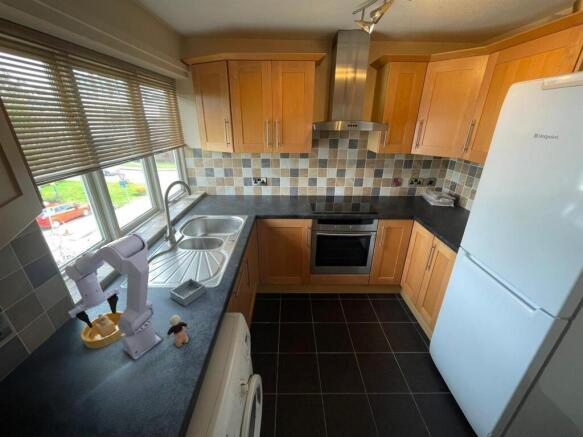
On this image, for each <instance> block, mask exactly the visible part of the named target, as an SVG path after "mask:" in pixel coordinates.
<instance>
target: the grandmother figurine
mask: <svg viewBox="0 0 583 437" xmlns="http://www.w3.org/2000/svg"><path fill="white" fill-rule="evenodd" d="M169 324H170V326H171V327H170V328H168V331H167V332H166V333H167V334H166V339H170V337H171V335H172V334H173V337H174V341H175V346H176V347H177V348H180V347H182V346H183V344H187V343H188V342H189V336H187V333H186V331H185V328H186V329H187V330H189V329H190V325H189V324H188V323H186V322H183V321H181V317H180V315H178V314H175V315H172V316H171V317H170V319H169Z"/></svg>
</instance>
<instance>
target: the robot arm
mask: <svg viewBox="0 0 583 437" xmlns="http://www.w3.org/2000/svg"><path fill="white" fill-rule="evenodd" d="M148 249H149V245H148V243H147V241H146V240H145V239H144V238H143V237H142V236H141V235H140V234H138V233H137V232H136V233H135V232H131V233H129V235H125V236H123V237H120V238H118V239H115V240H113V241H111V242H108V243H107V244H105V245H103V246H102V247H100V248H99V249H98V250H97V251H90V252H89V251H85V252H84V253H82V254H81V256H80V257H78V258H76V260H75V261H74V262H73V263H71V264H68V265H66V266H65V267H64V272H65V274H66V276H67V277H68V278H69V279H71V280H72V281H74V283H75V286H76V288H77V290H78V293H79V295H80V297H81V300H82V302H81V303H80V304H78V305H76V307H74V308H72V309H71V310H69V311H68V314H69V316H70V318H71V319H75V318H77V319H78V320H79V321H82V322H84V323H85V324H86V325H88V326H89V327H90V328H92V327H93V326H92V324H91V319H90V318H89V314H87V312H86V311H88V310H90V309H93V308H95V307H98V306H100V305H102V304H103V303H104V302H106V301H107V304H108V305H109V309H110V312H112V313H113V314H116V311H117V305H118V303H119V302H118V301H119V295H120V291H119V289H118V288H116V287H115V288H112V289H110V290H107V291H104V292H103V289H102V287H101V285H100V281H99V278H98V274H99V273H98V270H99V269H100V268H101V267H102V266H104V265H105V263H106V264H108V265H109V266H110V267H111V268H112V269H113V270H115V271H116V272H118V273H119V274H120V275H127V277H126V278H127V279H126V307H125V309H124V310H123V311H122V312H123V313H122V314H121V316H120V320H119V321H118V323H117V324H118V328H119V330H120V331H121V332H123V334H122V335H121V336H120V338H119V340H120V341H121V344H122V346H123V350H124V351H125V352H126V353H127V354H128V355H129V356H130V357H132V359H134V360H138V359H139V358H140V357H142V356H143V355H145V354H146V353H147V352H148V351H149V350H151V349H152V348H153V347H155V346H156V345H157V344H158V343H160V342H161V341H162V338H161V337H160V336H158V335H157V334H156V333H155V330H154V326H153V323H152V321H153V320H152V319H153V315H154V314H155V309H154V307H153V302H151V301H150V300H149V299H147V298H148V289H149V288H148V287H149V276H150V265H149V261H148V260H149V259H148Z"/></svg>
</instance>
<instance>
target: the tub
mask: <svg viewBox="0 0 583 437" xmlns="http://www.w3.org/2000/svg"><path fill="white" fill-rule="evenodd" d="M206 292H207V290H206V285H205V284H203V283H201V282H199V281H198V280H196V279H194V278H191V277H189V279H187V280H185V281H184V282H182V283H180V284H179V285H177V286H175V287H173V288H172V289H170V290H169V294H170V298H171V299H172V300H174V301H176V302H177V303H178V304H181V305H182V306H184V307H186V306H188V305H190V304H191V303H192V302H193V301H195V300H197V299H198V298H200V296H202V295H203V294H205V293H206Z"/></svg>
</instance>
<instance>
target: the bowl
mask: <svg viewBox="0 0 583 437" xmlns="http://www.w3.org/2000/svg"><path fill="white" fill-rule="evenodd" d="M123 312H124V311H120V310H116V314H113V313H112V311H109V312H106V313H103V314H101V315H102V316H104V315H105V316H108V318H109V319H110V320H111V321H112V322H113V323H114V325H115V328H116V330H117V331H115V332H114V333H112V334H110V335H108V336H106V337H103V336H102V335H101V334H100V333H99V331H98V329H97V327H96V325H95V324H97V320H98V318H99V317H98V316H97V317H95V318H93V319H92V320H90V322H91V324H92V326H93V327H92V328H90V327H89V326H88V325H87V324H86V325H85V326H84V327H83V328H82V330H81V332H80V338H81V341H82V342H83V345H85V347H87V348H89V349H100V348H105V347H107V346H109V345H111V344H114V343H115V342H117V341H118V340H120V336H121V335H122V334H123V332H121V331H120V330H119V328H118V324H117V323H118V321H119V320H120V316H121V314H122V313H123Z"/></svg>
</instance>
